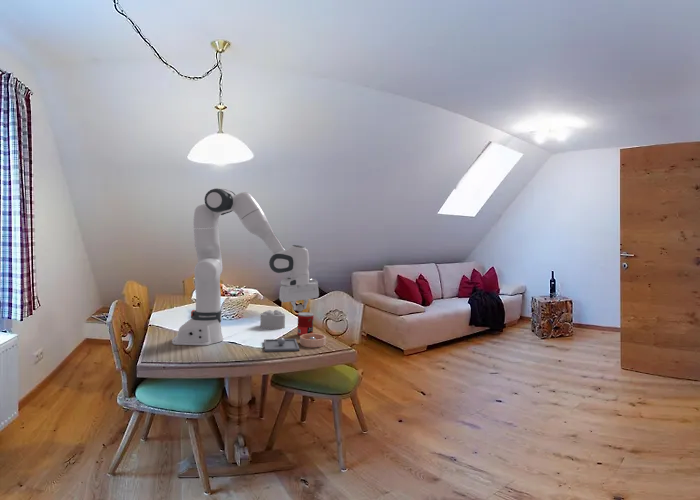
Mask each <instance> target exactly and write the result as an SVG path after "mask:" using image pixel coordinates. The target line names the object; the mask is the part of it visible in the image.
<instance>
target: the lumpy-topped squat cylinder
mask: <svg viewBox="0 0 700 500" xmlns="http://www.w3.org/2000/svg"><path fill="white" fill-rule="evenodd" d="M259 325H260V328H261V327H262V329H266V328H269V330H280V329H281V330H283V329H285V328H286V314H285V313H283V312H282V311H280V310H278V309H274V310H270V309H269V310H265V311H263V313H260V323H259ZM282 328H283V329H282Z"/></svg>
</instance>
